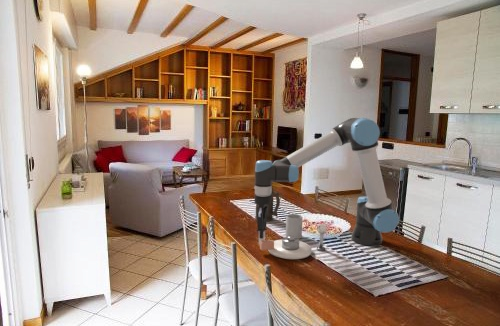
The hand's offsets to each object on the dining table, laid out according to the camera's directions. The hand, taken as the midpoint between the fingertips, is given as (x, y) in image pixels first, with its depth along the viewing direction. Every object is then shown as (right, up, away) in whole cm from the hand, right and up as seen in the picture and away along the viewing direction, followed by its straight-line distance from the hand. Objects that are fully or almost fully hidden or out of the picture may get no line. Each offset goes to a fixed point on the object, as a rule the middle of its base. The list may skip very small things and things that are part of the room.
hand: (261, 244), depth 161 cm
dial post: (+28, -4, +5) cm, 29 cm away
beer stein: (+5, +3, +50) cm, 50 cm away
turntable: (+11, -3, 0) cm, 11 cm away
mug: (+17, -1, +24) cm, 29 cm away
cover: (+13, -2, +1) cm, 14 cm away
